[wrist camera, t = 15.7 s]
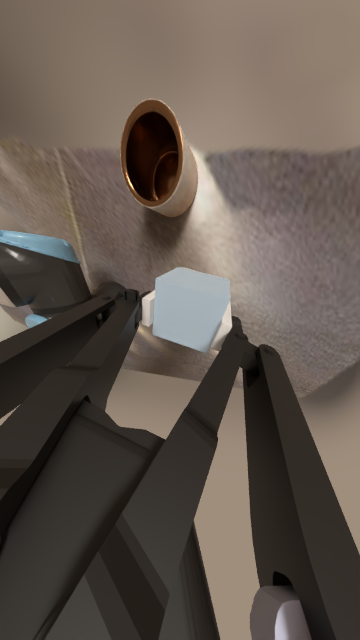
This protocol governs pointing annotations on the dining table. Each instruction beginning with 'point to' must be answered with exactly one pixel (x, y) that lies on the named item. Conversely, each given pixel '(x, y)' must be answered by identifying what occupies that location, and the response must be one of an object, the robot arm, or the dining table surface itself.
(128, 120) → the planter
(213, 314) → the blue brick
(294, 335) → the dining table surface
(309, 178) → the dining table surface
